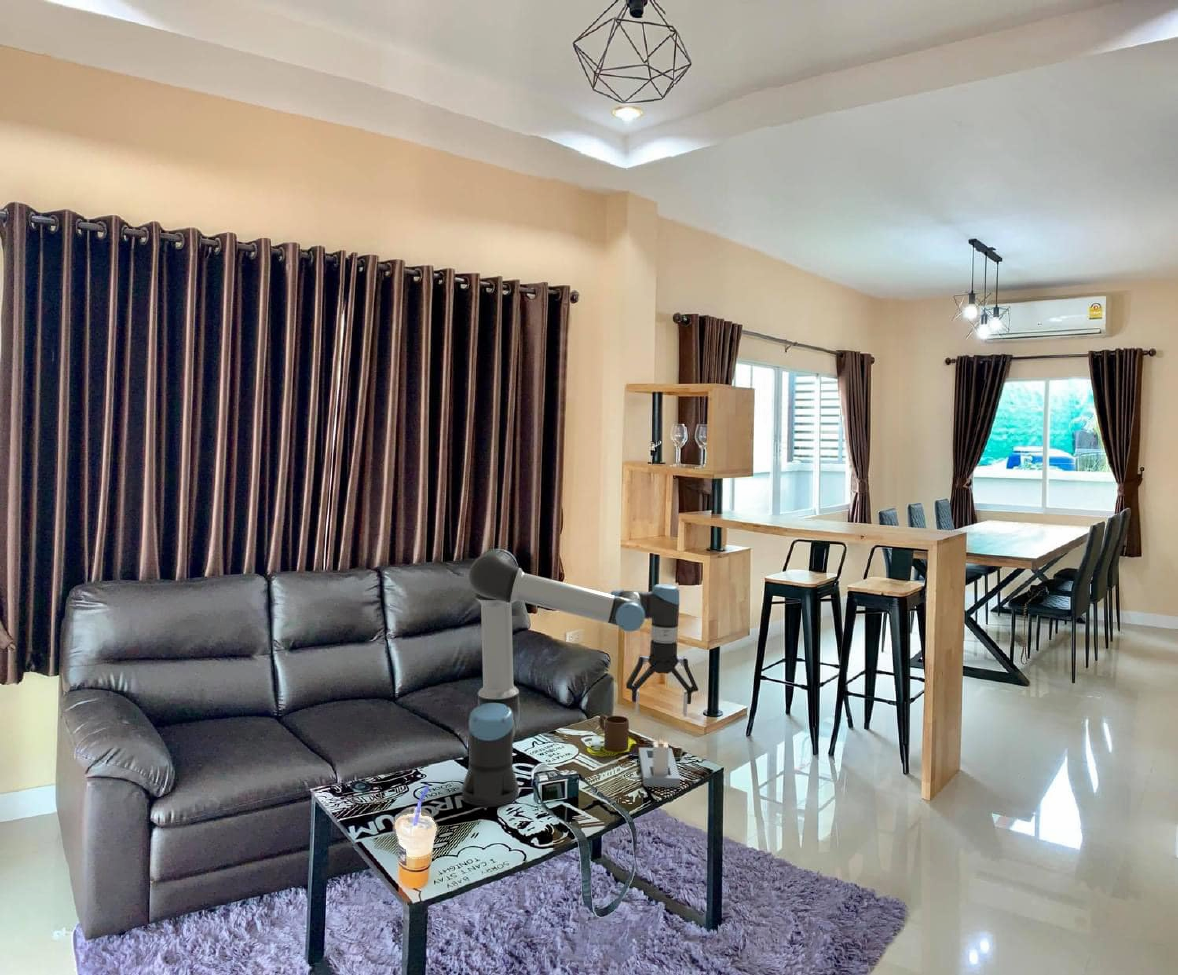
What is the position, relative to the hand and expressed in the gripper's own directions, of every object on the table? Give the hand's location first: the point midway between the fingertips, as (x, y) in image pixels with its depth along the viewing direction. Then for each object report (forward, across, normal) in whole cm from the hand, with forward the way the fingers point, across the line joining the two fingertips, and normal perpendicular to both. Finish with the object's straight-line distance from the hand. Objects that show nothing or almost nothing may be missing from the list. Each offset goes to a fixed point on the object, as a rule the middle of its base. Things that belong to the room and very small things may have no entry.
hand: (660, 714), depth 229 cm
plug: (+19, +1, 0) cm, 19 cm away
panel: (+19, +1, +6) cm, 20 cm away
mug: (+20, -12, +25) cm, 34 cm away
